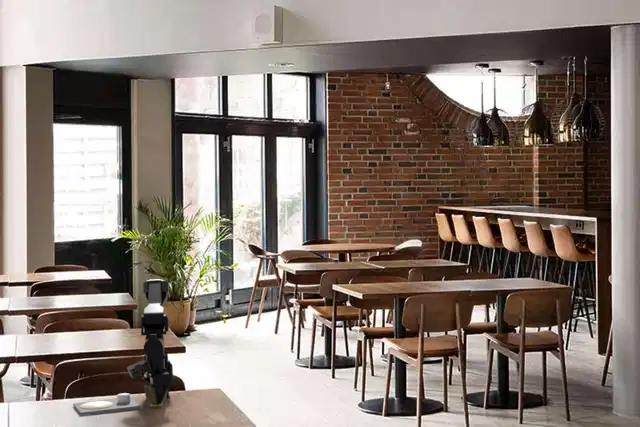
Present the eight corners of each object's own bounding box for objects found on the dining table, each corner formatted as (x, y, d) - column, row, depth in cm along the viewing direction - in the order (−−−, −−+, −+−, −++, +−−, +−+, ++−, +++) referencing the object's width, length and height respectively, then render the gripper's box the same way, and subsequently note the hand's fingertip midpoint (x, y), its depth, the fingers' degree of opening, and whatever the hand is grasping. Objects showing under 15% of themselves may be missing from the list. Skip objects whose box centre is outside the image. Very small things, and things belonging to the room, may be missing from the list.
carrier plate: (130, 400, 310) (129, 389, 310) (140, 408, 297) (139, 397, 297) (73, 406, 303) (72, 395, 302) (80, 415, 290) (80, 404, 290)
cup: (171, 404, 301) (170, 379, 301) (165, 410, 294) (164, 384, 294) (148, 405, 302) (147, 379, 302) (141, 410, 295) (140, 384, 294)
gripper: (122, 349, 303) (124, 398, 303) (135, 359, 286) (137, 411, 286) (157, 346, 307) (159, 395, 308) (172, 355, 290) (174, 406, 290)
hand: (156, 401), depth 298 cm, fingers closed on cup, 6 cm apart
